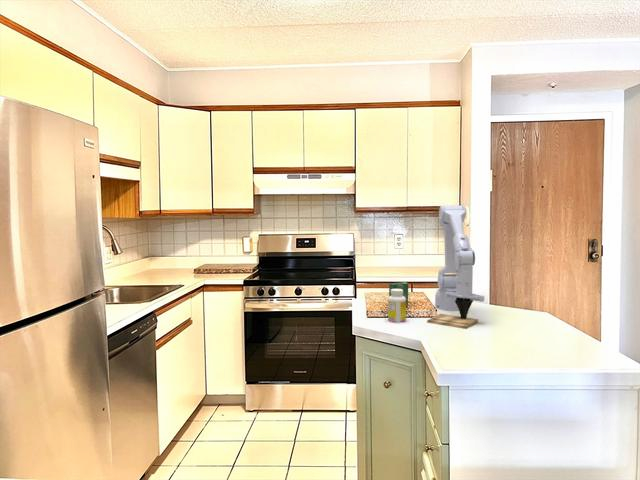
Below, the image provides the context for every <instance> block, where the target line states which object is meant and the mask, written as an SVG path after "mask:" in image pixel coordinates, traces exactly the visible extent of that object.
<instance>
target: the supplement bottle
mask: <svg viewBox="0 0 640 480" xmlns="http://www.w3.org/2000/svg"><path fill="white" fill-rule="evenodd" d="M387 312H388V314H387V316H388V317H387V318H388V322H390V323H395V324H396V323H399V324H401V323H405V322H406V321H407V312H406V298H405V297H404V296H403V290H402V289H391V296H390V297H389V296H388V298H387Z"/></svg>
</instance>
